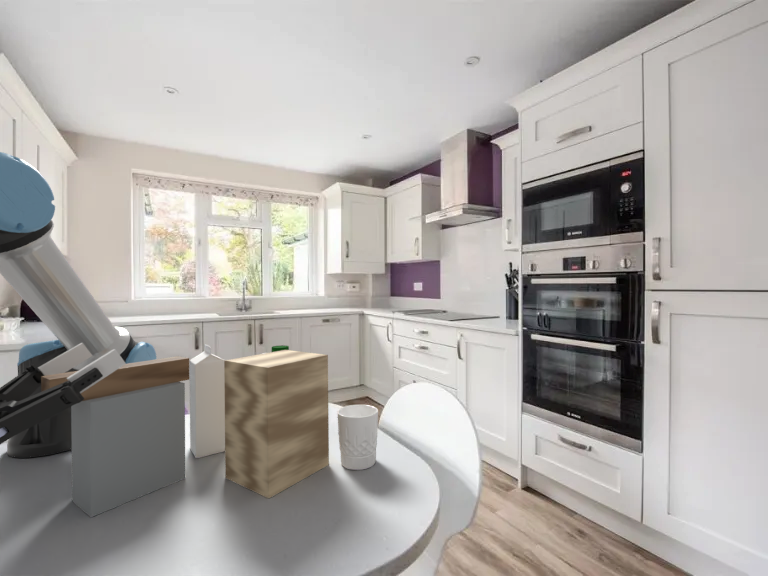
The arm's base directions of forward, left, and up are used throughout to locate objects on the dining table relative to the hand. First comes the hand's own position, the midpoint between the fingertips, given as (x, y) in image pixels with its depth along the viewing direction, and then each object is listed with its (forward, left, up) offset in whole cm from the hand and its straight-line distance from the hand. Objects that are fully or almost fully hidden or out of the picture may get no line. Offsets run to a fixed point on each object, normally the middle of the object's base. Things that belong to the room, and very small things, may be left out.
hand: (102, 352), depth 61 cm
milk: (-4, +20, -24) cm, 31 cm away
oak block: (+16, +22, -24) cm, 36 cm away
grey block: (0, +4, -24) cm, 24 cm away
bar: (0, +3, -7) cm, 7 cm away
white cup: (+26, +33, -24) cm, 48 cm away
